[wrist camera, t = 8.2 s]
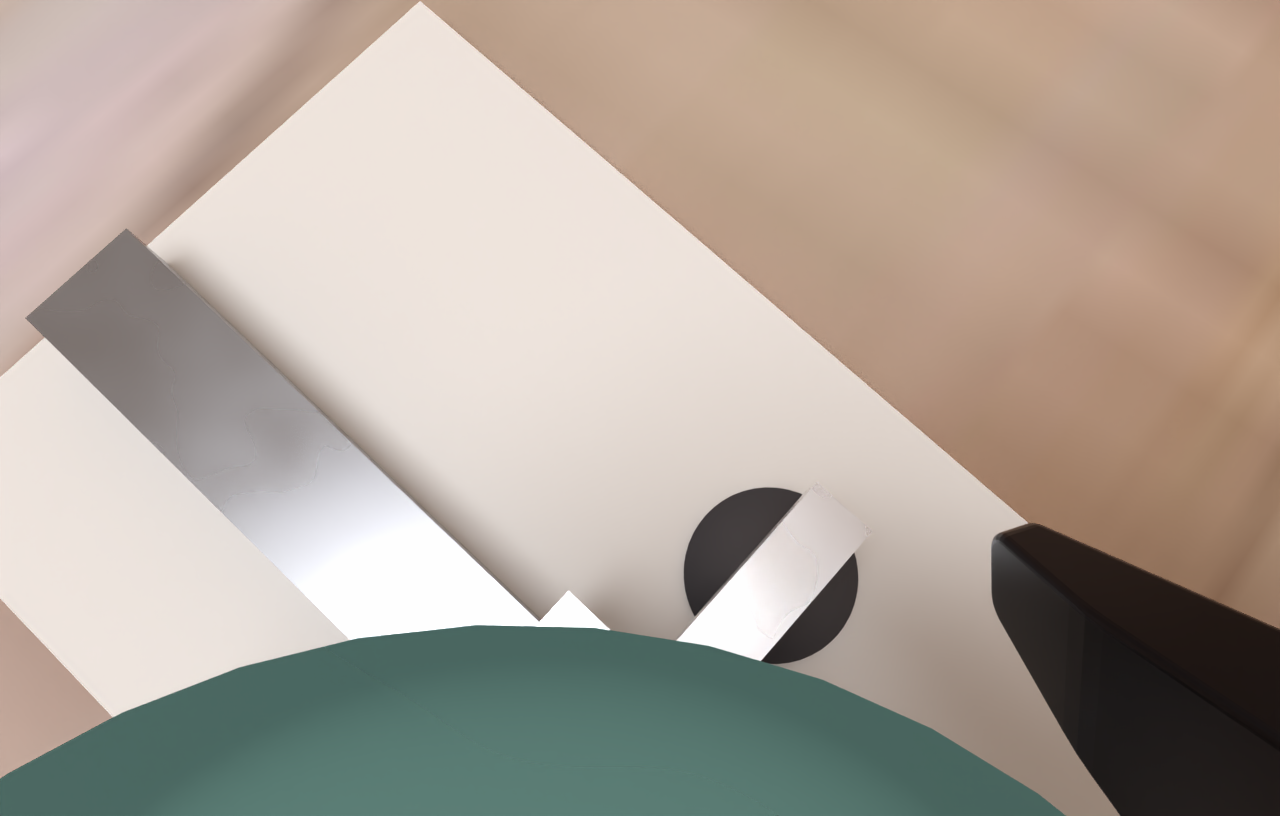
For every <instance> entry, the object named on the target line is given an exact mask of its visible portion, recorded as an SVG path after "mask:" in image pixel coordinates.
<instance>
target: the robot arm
mask: <svg viewBox="0 0 1280 816" xmlns="http://www.w3.org/2000/svg"><path fill="white" fill-rule="evenodd" d="M991 594H992V601H993V605H994V609H995V611H996V614H997V616H998V618H999V620H1000V622H1001V624H1002V626H1003V627H1004V629H1005V631H1006V633H1007V634H1008V636H1009V638H1010V640H1011V641H1012V643H1013V645H1014V647H1015V648H1016V650H1017V652H1018V654H1019V655H1020V657H1021V659H1022V661H1023V662H1024V664H1025V666H1026V668H1027V669H1028V671H1029V673H1030V675H1031V676H1032V678H1033V680H1034V682H1035V684H1036V685H1037V687H1038V689H1039V691H1040V692H1041V694H1042V696H1043V698H1044V699H1045V701H1046V703H1047V705H1048V706H1049V708H1050V710H1051V712H1052V713H1053V715H1054V717H1055V719H1056V720H1057V722H1058V724H1059V726H1060V727H1061V729H1062V731H1063V733H1064V734H1065V736H1066V738H1067V739H1068V741H1069V743H1070V744H1071V746H1072V748H1073V749H1074V751H1075V753H1076V754H1077V756H1078V757H1079V759H1080V760H1081V761H1082V763H1083V764H1084V766H1085V767H1086V769H1087V770H1088V772H1089V773H1090V775H1091V776H1092V777H1093V779H1094V780H1095V782H1096V783H1097V784H1098V786H1099V787H1100V789H1101V790H1102V791H1103V793H1104V794H1105V795H1106V797H1107V798H1108V800H1109V801H1110V802H1111V804H1112V805H1113V807H1114V808H1115V809H1116V811H1117V812H1118V813H1119V815H1120V816H1280V629H1278V628H1276V627H1274V626H1271V625H1269V624H1267V623H1264V622H1262V621H1260V620H1258V619H1255V618H1253V617H1251V616H1248V615H1246V614H1244V613H1242V612H1239V611H1237V610H1235V609H1232V608H1230V607H1228V606H1226V605H1223V604H1221V603H1219V602H1216V601H1214V600H1212V599H1210V598H1207V597H1205V596H1203V595H1200V594H1198V593H1196V592H1194V591H1191V590H1189V589H1187V588H1184V587H1182V586H1180V585H1178V584H1175V583H1173V582H1171V581H1168V580H1166V579H1164V578H1162V577H1159V576H1157V575H1155V574H1152V573H1150V572H1148V571H1146V570H1143V569H1141V568H1139V567H1136V566H1134V565H1132V564H1130V563H1127V562H1125V561H1123V560H1120V559H1118V558H1116V557H1114V556H1111V555H1109V554H1107V553H1104V552H1102V551H1100V550H1098V549H1095V548H1093V547H1091V546H1088V545H1086V544H1084V543H1082V542H1079V541H1077V540H1075V539H1072V538H1070V537H1068V536H1066V535H1063V534H1061V533H1059V532H1056V531H1054V530H1052V529H1050V528H1047V527H1045V526H1043V525H1040V524H1035V523H1028V524H1025V525H1022V526H1018V527H1015V528H1012V529H1009V530H1006V531H1003V532H1000V533H998V534H996V535H995V536H994V538H993V540H992V544H991Z"/></svg>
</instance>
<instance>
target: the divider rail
mask: <svg viewBox="0 0 1280 816" xmlns="http://www.w3.org/2000/svg"><path fill="white" fill-rule="evenodd" d="M26 319H27V320H28V321H29V322H30V323H31V324H32V325H33V326H34V327H35V328H36V329H37V330H38V331H39V332H40V333H41V334H42V335H43V336H44V337H45V338H46V339H47V340H48V341H49V342H50V343H51V344H52V345H53V346H54V347H55V348H56V349H57V350H58V351H59V352H60V353H61V354H62V355H63V356H64V357H65V358H66V359H67V360H68V361H69V362H70V363H71V364H72V365H73V366H74V367H75V368H76V369H77V370H78V371H79V372H80V373H81V374H82V375H83V376H84V377H85V378H86V379H87V380H88V381H89V382H90V383H91V384H92V385H93V386H94V387H95V388H96V389H97V390H98V391H99V392H100V393H101V394H102V395H103V396H105V397H106V398H107V399H108V400H109V401H110V402H111V403H112V404H113V405H114V406H115V407H116V408H117V409H118V410H119V411H120V412H121V413H122V414H123V415H124V416H125V417H126V418H127V419H128V420H129V421H130V422H131V423H132V424H133V425H134V426H135V427H136V428H137V429H138V430H139V431H140V432H141V433H142V434H143V435H144V436H145V437H146V438H147V439H148V440H149V441H150V442H151V443H152V444H153V445H154V446H155V447H156V448H157V449H158V450H159V451H160V452H161V453H162V454H163V455H164V456H165V457H166V458H167V459H168V460H169V461H170V462H171V463H172V464H173V465H174V466H175V467H176V468H177V469H178V470H179V471H180V472H181V473H182V474H183V475H184V476H185V477H186V478H187V479H188V480H189V481H190V482H191V483H192V484H193V485H194V486H195V487H196V488H197V489H198V490H199V491H200V492H201V493H202V494H203V495H204V496H205V497H206V498H207V499H208V500H209V501H210V502H211V503H212V504H213V505H214V506H215V507H216V508H217V509H218V510H219V511H220V512H222V513H223V514H224V515H225V516H226V517H227V518H228V519H229V520H230V521H231V522H232V523H233V524H234V525H235V526H236V527H237V528H238V529H239V530H240V531H241V532H242V533H243V534H244V535H245V536H246V537H247V538H248V539H249V540H250V541H251V542H252V543H253V544H254V545H255V546H256V547H257V548H258V549H259V550H260V551H261V552H262V553H263V554H264V555H265V556H266V557H267V558H268V559H269V560H270V561H271V562H272V563H273V564H274V565H275V566H276V567H277V568H278V569H279V570H280V571H281V572H282V573H283V574H284V575H285V576H286V577H287V578H288V579H289V580H290V581H291V582H292V583H293V584H294V585H295V586H296V587H297V588H298V589H299V590H300V591H301V592H302V593H303V594H304V595H305V596H306V597H307V598H308V599H309V600H310V601H311V602H312V603H313V604H314V605H315V606H316V607H317V608H318V609H319V610H320V611H321V612H322V613H323V614H324V615H325V616H326V617H327V618H328V619H329V620H330V621H331V622H332V623H333V624H334V625H335V626H336V627H337V628H338V629H340V630H341V631H342V632H343V633H344V634H345V635H346V636H347V637H348V638H349V639H350V640H352V639H356V638H363V637H372V636H381V635H390V634H399V633H408V632H417V631H426V630H435V629H444V628H453V627H462V626H471V625H501V626H537V624H538V623H539V622H540V621H541V619H540V618H539V617H538V616H537V615H536V614H535V613H534V612H533V611H532V610H531V609H530V608H529V607H528V606H527V605H526V604H525V603H523V602H522V601H521V600H520V599H519V598H518V597H517V596H516V595H515V594H514V593H513V592H512V591H511V590H510V589H509V588H508V587H507V586H506V585H505V584H504V583H502V582H501V581H500V580H499V579H498V578H497V577H496V576H495V575H494V574H493V573H492V572H491V571H490V570H489V569H488V568H487V567H486V566H485V565H484V564H483V563H481V562H480V561H479V560H478V559H477V558H476V557H475V556H474V555H473V554H472V553H471V552H470V551H469V550H468V549H467V548H466V547H465V546H464V545H463V544H462V543H460V542H459V541H458V540H457V539H456V538H455V537H454V536H453V535H452V534H451V533H450V532H449V531H448V530H447V529H446V528H445V527H444V526H443V525H442V524H441V523H440V522H438V521H437V520H436V519H435V518H434V517H433V516H432V515H431V514H430V513H429V512H428V511H427V510H426V509H425V508H424V507H423V506H422V505H421V504H420V503H419V502H417V501H416V500H415V499H414V498H413V497H412V496H411V495H410V494H409V493H408V492H407V491H406V490H405V489H404V488H403V487H402V486H401V485H400V484H399V483H398V482H396V481H395V480H394V479H393V478H392V477H391V476H390V475H389V474H388V473H387V472H386V471H385V470H384V469H383V468H382V467H381V466H380V465H379V464H378V463H377V462H375V461H374V460H373V459H372V458H371V457H370V456H369V455H368V454H367V453H366V452H365V451H364V450H363V449H362V448H361V447H360V446H359V445H358V444H357V443H356V442H354V441H353V440H352V439H351V438H350V437H349V436H348V435H347V434H346V433H345V432H344V431H343V430H342V429H341V428H340V427H339V426H338V425H337V424H336V423H335V422H334V421H332V420H331V419H330V418H329V417H328V416H327V415H326V414H325V413H324V412H323V411H322V410H321V409H320V408H319V407H318V406H317V405H316V404H315V403H314V402H313V401H311V400H310V399H309V398H308V397H307V396H306V395H305V394H304V393H303V392H302V391H301V390H300V389H299V388H298V387H297V386H296V385H295V384H294V383H293V382H292V381H290V380H289V379H288V378H287V377H286V376H285V375H284V374H283V373H282V372H281V371H280V370H279V369H278V368H277V367H276V366H275V365H274V364H273V363H272V362H271V361H269V360H268V359H267V358H266V357H265V356H264V355H263V354H262V353H261V352H260V351H259V350H258V349H257V348H256V347H255V346H254V345H253V344H252V343H251V342H250V341H249V340H247V339H246V338H245V337H244V336H243V335H242V334H241V333H240V332H239V331H238V330H237V329H236V328H235V327H234V326H233V325H232V324H231V323H230V322H229V321H228V320H226V319H225V318H224V317H223V316H222V315H221V314H220V313H219V312H218V311H217V310H216V309H215V308H214V307H213V306H212V305H211V304H210V303H209V302H208V301H207V300H205V299H204V298H203V297H202V296H201V295H200V294H199V293H198V292H197V291H196V290H195V289H194V288H193V287H192V286H191V285H190V284H189V283H188V282H187V281H186V280H184V279H183V278H182V277H181V276H180V275H179V274H178V273H177V272H176V271H175V270H174V269H173V268H172V267H171V266H170V265H169V264H168V263H167V262H165V261H164V260H163V259H162V258H161V257H159V256H158V255H157V254H156V253H155V252H154V251H152V250H151V249H150V248H149V247H148V246H146V245H145V244H144V243H143V242H142V241H141V240H139V239H138V238H137V237H136V236H135V235H134V234H132V233H131V232H130V231H129V230H128V229H125V230H124V231H123V232H122V233H121V234H120V235H118V236H117V237H116V238H115V239H114V240H113V241H112V242H111V243H109V244H108V245H107V246H106V247H105V248H104V249H103V250H102V251H100V252H99V253H98V254H97V255H96V256H95V257H94V258H93V259H91V260H90V261H89V262H88V263H87V264H86V265H85V266H84V267H82V268H81V269H80V270H79V271H78V272H77V273H76V274H75V275H73V276H72V277H71V278H70V279H69V280H68V281H67V282H66V283H64V284H63V285H62V286H61V287H60V288H59V289H58V290H57V291H55V292H54V293H53V294H52V295H51V296H50V297H49V298H48V299H46V300H45V301H44V302H43V303H42V304H41V305H40V306H39V307H37V308H36V309H35V310H34V311H33V312H32V313H31V314H30V315H28V316H27V317H26Z"/></svg>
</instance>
